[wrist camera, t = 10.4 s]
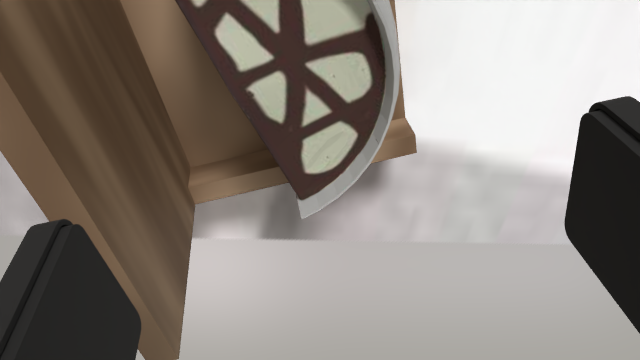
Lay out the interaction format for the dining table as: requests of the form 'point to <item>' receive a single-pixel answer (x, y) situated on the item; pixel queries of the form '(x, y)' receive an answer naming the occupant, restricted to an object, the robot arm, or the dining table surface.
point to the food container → (307, 82)
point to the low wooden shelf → (132, 138)
